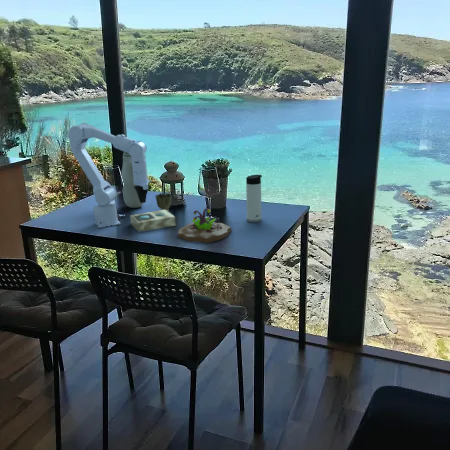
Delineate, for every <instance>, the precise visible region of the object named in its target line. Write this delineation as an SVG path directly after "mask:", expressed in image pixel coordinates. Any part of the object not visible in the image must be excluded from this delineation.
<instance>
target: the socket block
mask: <svg viewBox="0 0 450 450" xmlns="http://www.w3.org/2000/svg"><path fill="white" fill-rule="evenodd" d="M144 215H147V216H149V218H146V219H140V216H144ZM129 217H130V224H131V225H132V227H134V229H135V230H137V232H139V231H143V232H147V231H146V230H148V231H152V230H153V229H154V230H158V229H163V228H170V227H174V226H176V216H175V215H174V214H173V213H171V212H170V211H169V210H168V211H167V210H161V209H160V210H155V211H149V212H143V213H137V214H132V215H131V214H130V215H129Z"/></svg>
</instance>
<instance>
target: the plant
mask: <svg viewBox="0 0 450 450" xmlns="http://www.w3.org/2000/svg"><path fill="white" fill-rule="evenodd" d="M206 212H207V213H208V214H211V212H212V210H211V209H210V208H205V209H203V212H202V213H201V211H199V210H197V209H196V210H194V211H193V215H196V216H194V217H193V218H192V219H191V223H188V224H187V223H186V225H184V226H182V227H181V228H179V229H178V230H177V238H178V239H183V240H184V241H186V242H192V243H194V242H195V243H203V244H204V243H205V244H208V243H211V242H216V241H220V240H222V239H224V238H227V237H228V235H229V234H230V233H231V232H232V227H231V226H229V225H227V224H225V223H222V222H215V221H216V220H217V218H213V219H211V220H210V218H209V217H206ZM197 214H198V215H197Z"/></svg>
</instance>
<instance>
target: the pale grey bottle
mask: <svg viewBox="0 0 450 450" xmlns="http://www.w3.org/2000/svg"><path fill="white" fill-rule="evenodd" d="M121 176H122V179H123V183H124V191H123V190H122V195H123V201H124V204H125V205H126V206H127V207H129V208H130V209H138V208H140V207H142V206H143V205H144V204H145V203H140V201H139V198H138V195H137V192H136V190H135V188H134V186H137V185H135V184H134V177H133V166H132V156H131V155H130V154H129V153H127V152H124V151H123V154H122V168H121V175H120V177H121Z"/></svg>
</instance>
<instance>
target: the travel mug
mask: <svg viewBox="0 0 450 450" xmlns="http://www.w3.org/2000/svg"><path fill="white" fill-rule="evenodd" d="M262 177H263V175H262V174H251V175H248V176H247V177H246V178H245V179H246V180H245V181H246V182H245V184H246V186H245V189H246V191H245V192H246V221H247V222H249V223H259V222H261V221H262Z"/></svg>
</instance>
